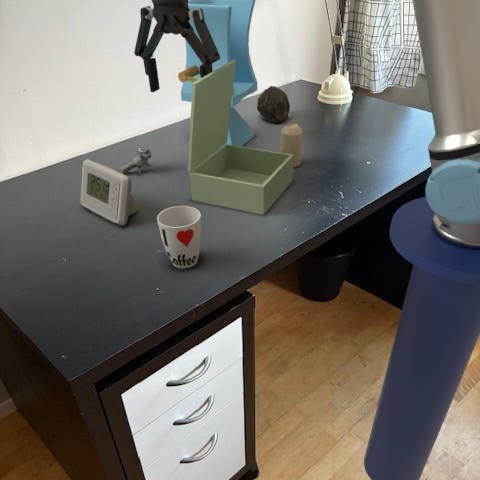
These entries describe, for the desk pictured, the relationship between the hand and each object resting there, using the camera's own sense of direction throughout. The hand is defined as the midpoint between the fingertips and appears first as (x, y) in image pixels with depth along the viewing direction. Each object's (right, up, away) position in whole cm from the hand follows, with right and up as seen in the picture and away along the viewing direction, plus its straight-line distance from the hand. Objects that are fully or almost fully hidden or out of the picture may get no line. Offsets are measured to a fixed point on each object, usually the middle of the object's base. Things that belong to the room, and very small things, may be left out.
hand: (180, 93), depth 108 cm
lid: (+7, -5, 0) cm, 9 cm away
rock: (+25, +13, +45) cm, 53 cm away
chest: (+14, -20, +9) cm, 26 cm away
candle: (+27, -9, +20) cm, 35 cm away
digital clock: (-17, -27, +2) cm, 32 cm away
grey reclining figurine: (-13, -12, +18) cm, 26 cm away
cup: (+3, -40, -13) cm, 42 cm away
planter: (+8, +1, +33) cm, 34 cm away
